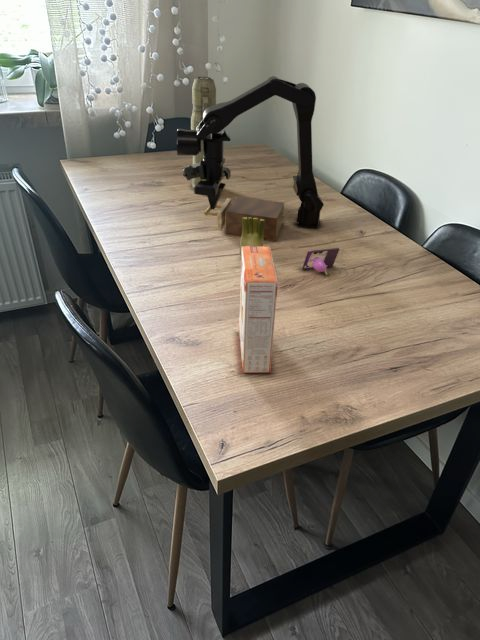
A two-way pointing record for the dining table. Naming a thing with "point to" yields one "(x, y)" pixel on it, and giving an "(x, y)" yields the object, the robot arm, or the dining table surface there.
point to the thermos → (201, 109)
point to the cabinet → (255, 216)
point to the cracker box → (257, 308)
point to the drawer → (220, 213)
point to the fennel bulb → (252, 233)
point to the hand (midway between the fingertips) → (212, 208)
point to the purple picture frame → (321, 263)
